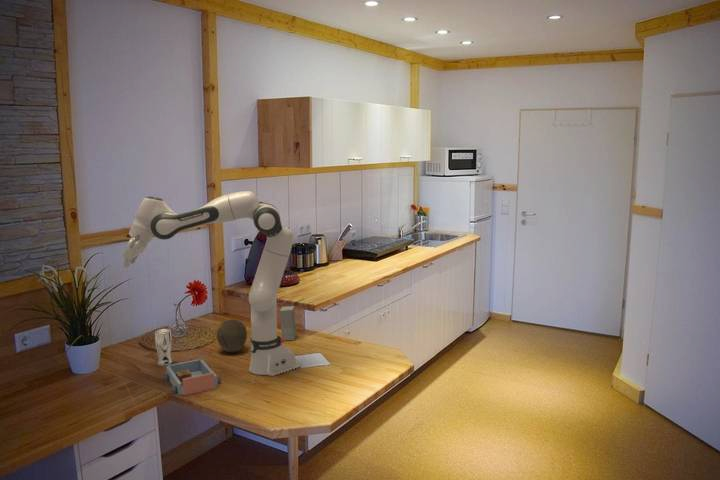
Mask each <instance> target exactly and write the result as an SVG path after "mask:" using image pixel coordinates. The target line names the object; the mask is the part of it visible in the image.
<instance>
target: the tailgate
mask: <svg viewBox="0 0 720 480" xmlns="http://www.w3.org/2000/svg"><path fill="white" fill-rule="evenodd" d="M214 373H215V372H214ZM214 373H208V374H204V375H199V376H194V377H189V378H185V379H182V381H183V395H182V396H189V395H194V394H198V393H203V392H206V391H207V392H208V391H211V390H212V391H213V390H216V387H215V382H214Z"/></svg>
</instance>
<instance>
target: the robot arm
mask: <svg viewBox="0 0 720 480" xmlns="http://www.w3.org/2000/svg"><path fill="white" fill-rule="evenodd" d="M138 206H139V207H138V208H137V211H136V212H135V213H136V215H135V219H134V220H133V222H132V224H131V227H130V229H129V231H128V236H130V238H129V240H128V243H127V245H126V246H125V249H124V251H123V254H122V257H123V258H124V263H123V266H122V267H123V268H126V269H128V268H129V267H130V264H133V265H134V264H135V262H136V260H137V258H138V257H139V255H140V254H143V252H144V251H145V249H146V247H147V245H148V243H151V241H152V239H153V236H154V237H156V238H157V239H159V240H169V239H171V238H173V237H175V235H176V234H177V233H179V232H181V231H184V230H187V229H188V230H189V229H191V228H194V227H197V226H201V225H207V224H217V223H218V224H219V223H228V222H233V221H237V220H240V219H245V218H247V219H250V220H251V219H252V220H253V224H254V227H255V228H256V229H257V231H259V232H260V233H262V234H263V235H265V236H266V241H265V245H264V247H263V250H262V254H261V257H260V259H259V263H258V266H257V269H256V273H255V275H254V278H253V280H252V284H251V287H250V290H249V294H248V302H249V304H250V334H251V335H250V336H251V337H250V342H249V343H250V351H251V354H250V362H249V367H248V371H249V373H251V374H254V375H260V376H261V375H262V376H271V377H273V376H277V374H278V375H281V374H283V372H284V373H287V372H290V371H293V370H296V369H299V368H301V367H302V363H301V361H299V359H298V358H296V356H295V353H294V351H293V350H292V349H291V348H289V347H288V346H286V345H285V344H284V343H286V341H287V340H285V339H284V338H282V336H280V335H278V323H277V322H278V320H277V317H278V316H277V314H278V313H277V310H278V309H277V296H278V292H279V289H280V286H281V282H282V279H283V276H284V272H285V270H286V266H287V264H288V261H289V257H290V255H291V251H292V247H293V242H294V241H293V240H294V233H293V230H291V229H290V227H289V228H288V227H287V226H284V225H283V224H282V220H281V214H280V212H279V210H278V209H277V207H276V206H274V205H272V204H271V203H267V202H263V201H259V198H258V197H257V195H256V193H254V192H253V191H250V190H247V191H246V190H244V191H237V192H231V193H227V194H224V195H220V196H218V197H216V198H215V199H212V200H210V201H209V202H208V203H206V204H205V205H203V206H201V207H199V208H197V209H194V210H190V211H186V212H182V213H176V212H175V210H173V209H172V208H171V207H170V206H168V204H167V203H166V202H165V200H164V199H163V198H161V197H156V196H146V197H144V198H143V199H142V201H141V203H139V205H138ZM300 366H301V367H300ZM298 367H299V368H298ZM295 368H296V369H295ZM292 369H293V370H292ZM289 370H290V371H289ZM286 371H287V372H286ZM280 373H281V374H280Z"/></svg>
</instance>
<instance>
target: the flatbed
mask: <svg viewBox="0 0 720 480" xmlns="http://www.w3.org/2000/svg"><path fill="white" fill-rule="evenodd" d="M183 370H189V371H190V372H191V375H192V377H194V376H199V375H204V374H208V373H214V382H215V388H218V385H221V384H222V380H221V377H220V376H218V375H217V374H216V373H215V372H214V371H213V370H212V368H211V367H210V365H208V364H207V363H206V362H205V360H204V359H202V358H199V359H198V358H197V359H194V360H189V361H183V362H178V363H171V364H169V365H165V374H163V375H161V378H162V381H163V382H164V383H166V382H170V384H171V385H172V386H171V387H169V392H170V393H171V395H175V394H178V396H184V395H183V386H182V383H181V382H180V380H179V379H178V378H177V376H176V372H178V371H183Z"/></svg>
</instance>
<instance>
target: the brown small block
mask: <svg viewBox="0 0 720 480" xmlns="http://www.w3.org/2000/svg"><path fill="white" fill-rule="evenodd" d="M176 376H177V378H178V379H179V380H180V382H181V383H182V386H183V381H182V379H185V378H189V377H192V375H191V372H190V371H189V370H183V371H178V372H176Z"/></svg>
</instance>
